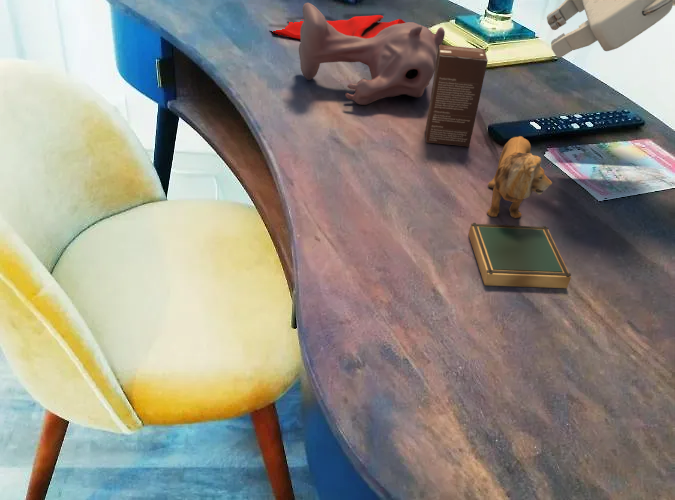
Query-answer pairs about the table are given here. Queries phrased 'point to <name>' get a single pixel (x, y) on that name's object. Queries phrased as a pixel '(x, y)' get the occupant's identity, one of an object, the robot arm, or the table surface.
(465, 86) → the box
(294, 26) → the cloth
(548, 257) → the green gold display base
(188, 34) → the table surface
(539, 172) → the lion figurine
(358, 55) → the dragon head
